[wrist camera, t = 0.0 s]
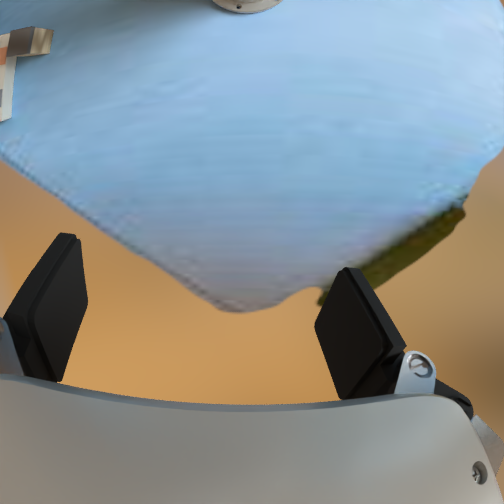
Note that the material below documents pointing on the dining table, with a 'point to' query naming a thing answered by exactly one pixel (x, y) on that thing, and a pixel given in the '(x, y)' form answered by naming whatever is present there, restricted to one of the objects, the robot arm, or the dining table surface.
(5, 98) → the socket block
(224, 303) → the dining table surface
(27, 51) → the plug
